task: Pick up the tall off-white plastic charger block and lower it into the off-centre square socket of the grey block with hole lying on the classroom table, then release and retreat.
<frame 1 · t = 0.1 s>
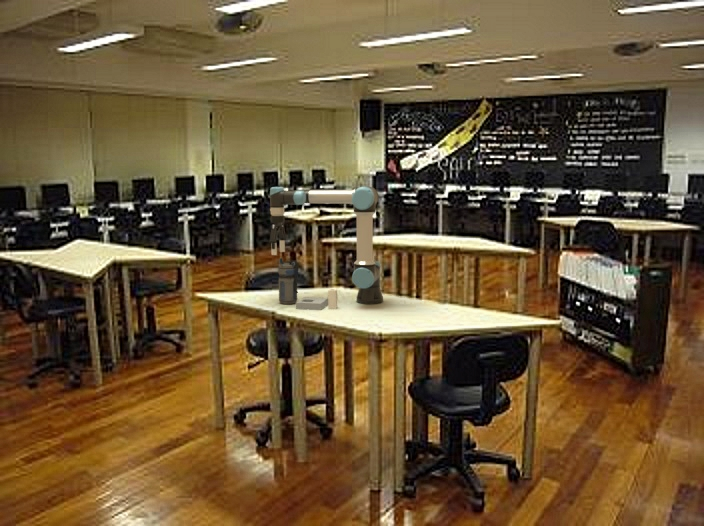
hand: (278, 253, 346), 28 cm above the table, fingers open, 13 cm apart
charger: (332, 308, 335), on the table
beverage bottle: (289, 303, 349), on the table
grey block with hole: (312, 306, 340), on the table
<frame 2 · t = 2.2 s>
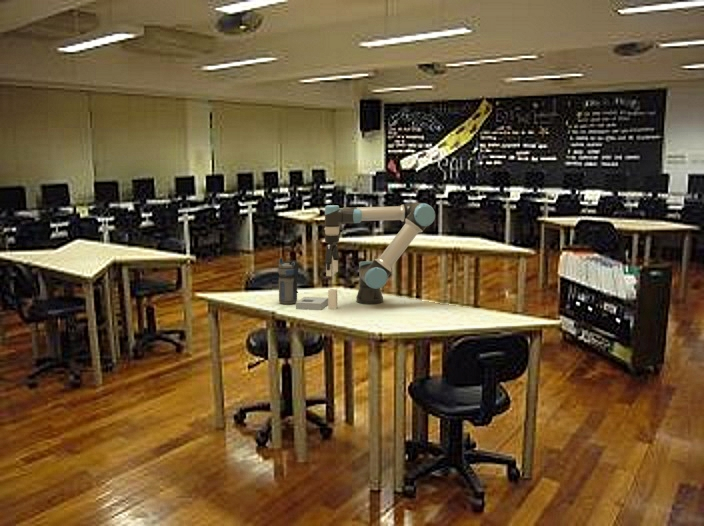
hand: (332, 274, 332), 19 cm above the table, fingers open, 13 cm apart
nothing on the table moved.
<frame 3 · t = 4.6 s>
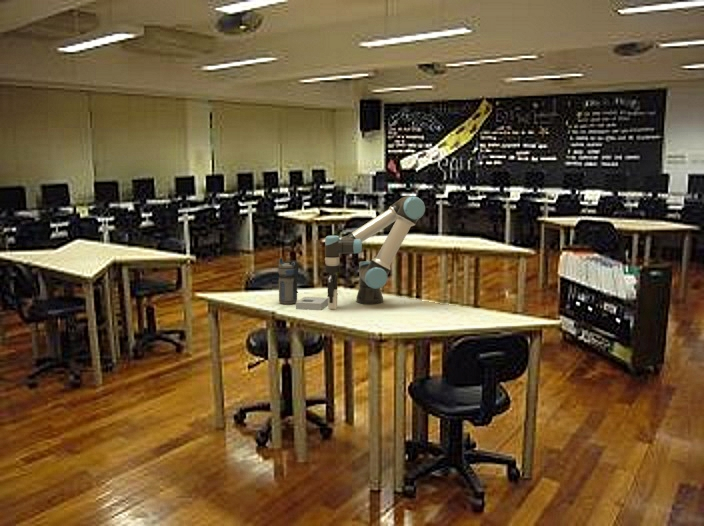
hand: (332, 307, 335), 0 cm above the table, fingers closed on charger, 4 cm apart
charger: (332, 308, 335), on the table, touching gripper
everything else where it was.
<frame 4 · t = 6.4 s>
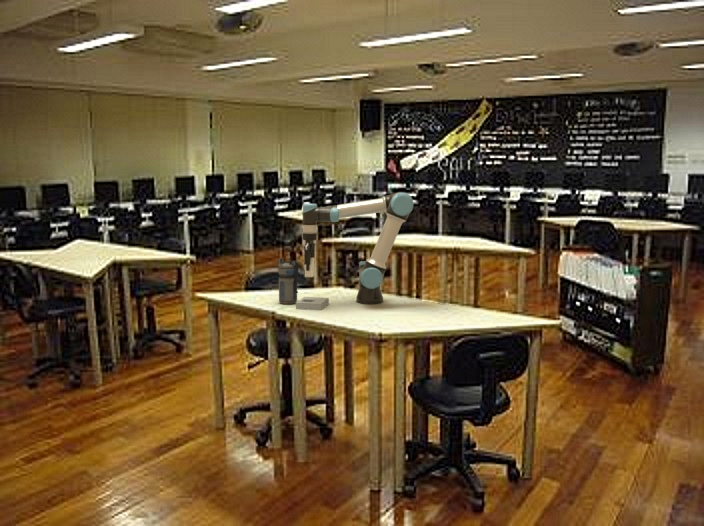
hand: (309, 275, 335), 17 cm above the table, fingers closed on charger, 4 cm apart
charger: (309, 276, 335), point 17 cm above the table, touching gripper
everything else where it was.
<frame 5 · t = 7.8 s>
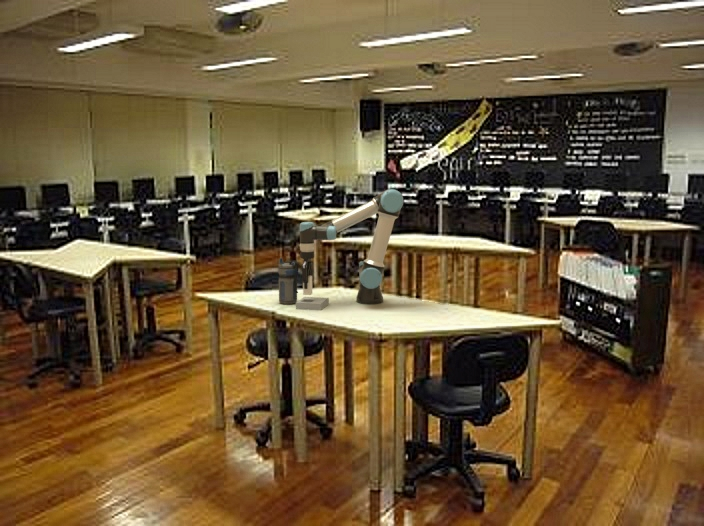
hand: (307, 293, 337), 7 cm above the table, fingers closed on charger, 4 cm apart
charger: (307, 294, 337), point 7 cm above the table, touching gripper
everything else where it was.
when the fingers open (4 cm above the table, at t = 8.6 s): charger drops 4 cm, resting in grey block with hole.
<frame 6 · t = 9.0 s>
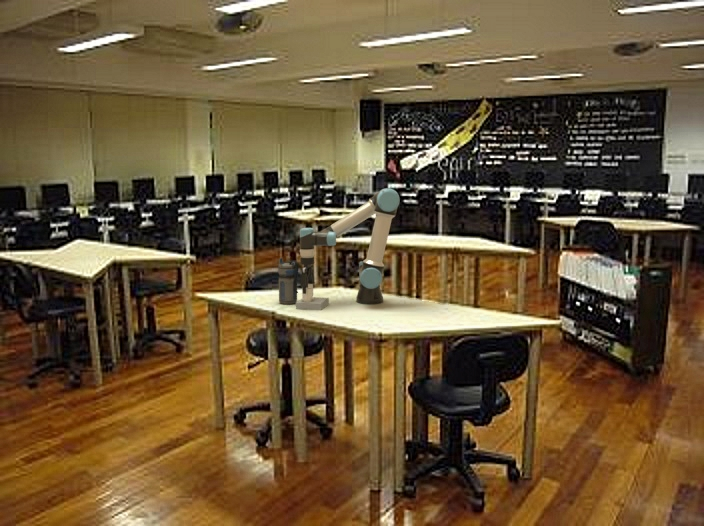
hand: (307, 297, 337), 5 cm above the table, fingers open, 10 cm apart
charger: (308, 306, 338), resting in grey block with hole
everything else where it was.
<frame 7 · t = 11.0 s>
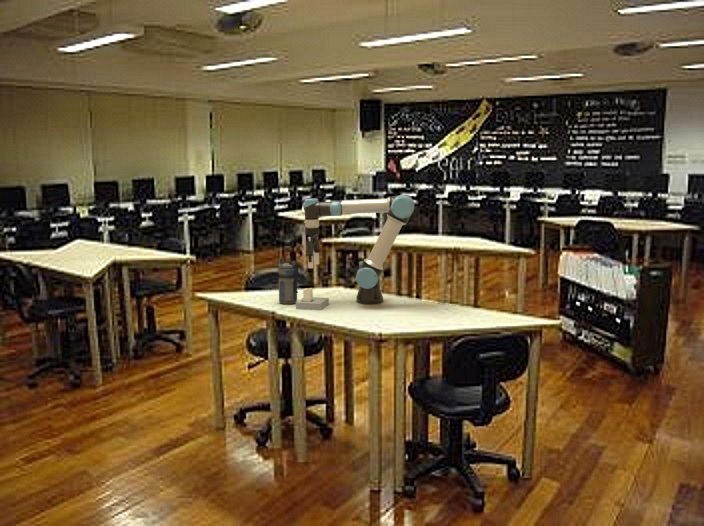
hand: (313, 266, 339), 22 cm above the table, fingers open, 13 cm apart
nothing on the table moved.
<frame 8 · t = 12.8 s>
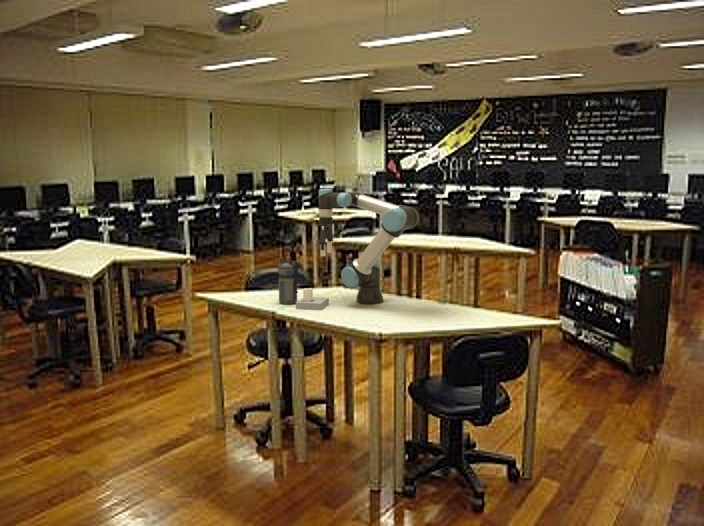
hand: (326, 254, 349), 27 cm above the table, fingers open, 13 cm apart
nothing on the table moved.
at the end: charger 0.1 cm from the target spot on the grey block with hole, point 0.0 cm above the grey block with hole's base; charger tilted 0°; the gripper is holding nothing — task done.
